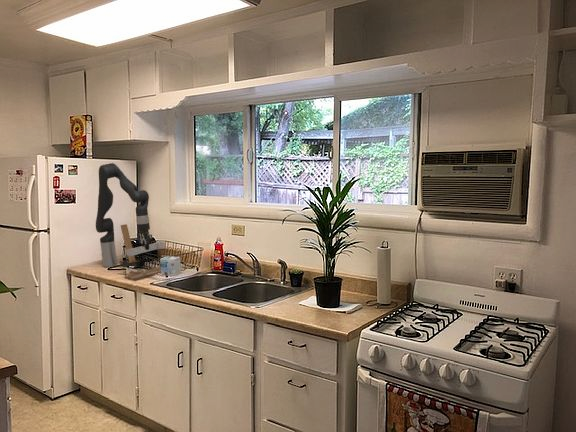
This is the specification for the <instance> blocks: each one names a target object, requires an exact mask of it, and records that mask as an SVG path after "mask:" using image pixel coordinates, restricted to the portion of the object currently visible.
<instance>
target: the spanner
mask: <svg viewBox="0 0 576 432" xmlns="http://www.w3.org/2000/svg"><path fill="white" fill-rule="evenodd" d="M165 244H166V243H165V242H164V241H157V242H153V243H149V250H146V247H145V246H142V245H141V246H137V247H132V248H131V249H126V248H125V255H126V256H127V257H128V256H133V255H134V256H137V255H139V254H143V253H147V252H151V251H155V250H161V249H165V248H166V245H165Z"/></svg>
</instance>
